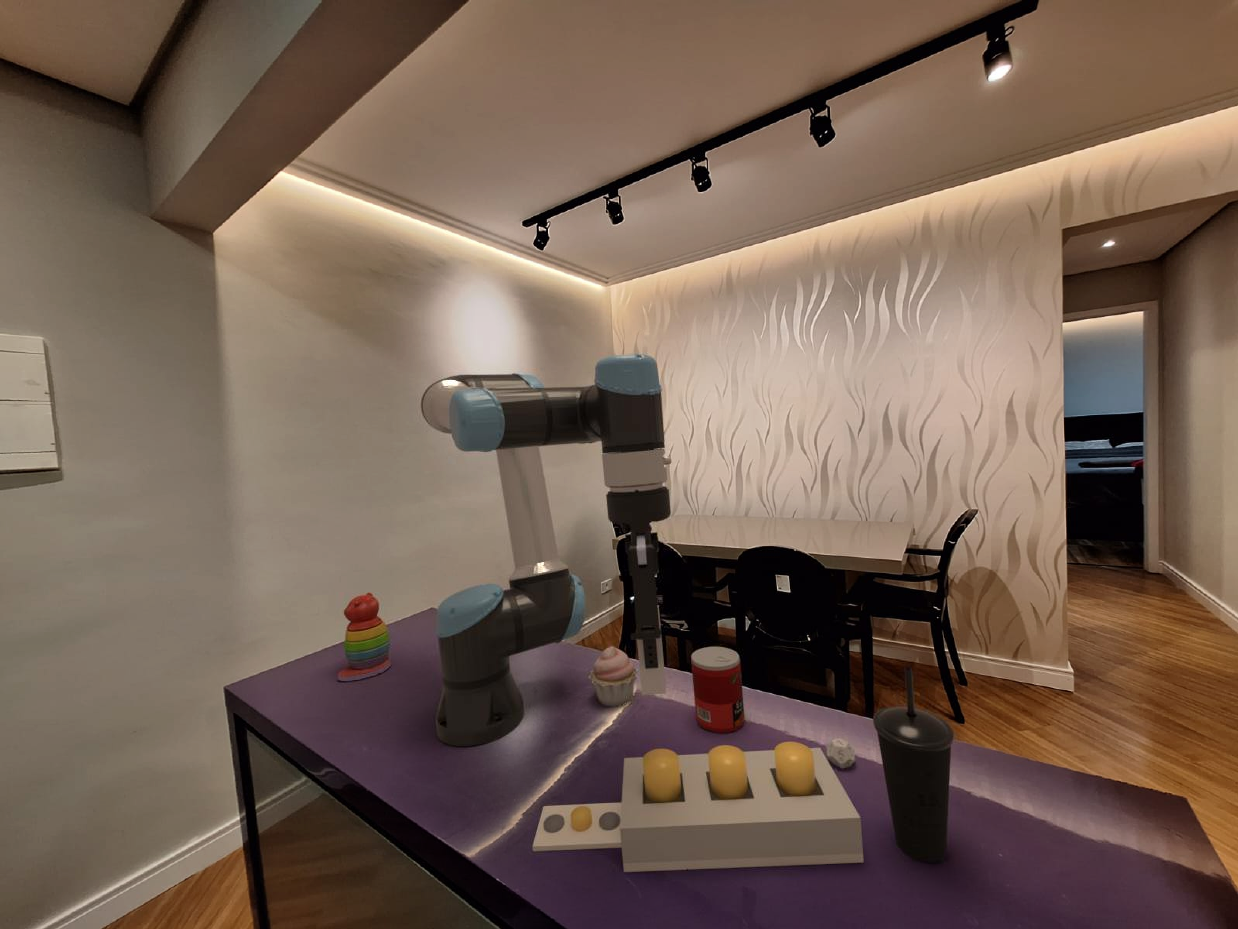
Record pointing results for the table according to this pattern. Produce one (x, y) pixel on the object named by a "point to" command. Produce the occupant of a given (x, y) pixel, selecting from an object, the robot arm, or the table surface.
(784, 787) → the button right
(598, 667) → the cupcake
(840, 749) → the game die
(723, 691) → the canned food
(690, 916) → the table surface
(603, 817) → the pattern card
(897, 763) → the drinking cup
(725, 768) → the button mid
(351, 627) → the stacking bear
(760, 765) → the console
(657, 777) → the button left
